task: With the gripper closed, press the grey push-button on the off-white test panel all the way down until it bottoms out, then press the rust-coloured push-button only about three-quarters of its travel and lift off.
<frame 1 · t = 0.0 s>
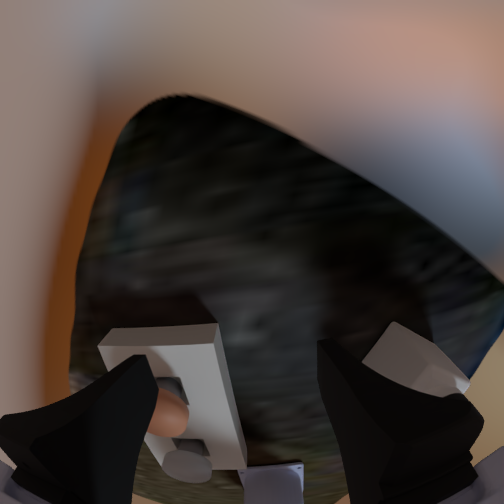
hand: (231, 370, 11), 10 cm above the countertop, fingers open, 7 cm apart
medicine bottle: (392, 361, 23), on the countertop
rust button: (162, 402, 18), point 4 cm above the countertop, slide at 0.0 cm
test panel: (185, 401, 23), on the countertop
grey button: (189, 457, 20), point 4 cm above the countertop, slide at 0.0 cm
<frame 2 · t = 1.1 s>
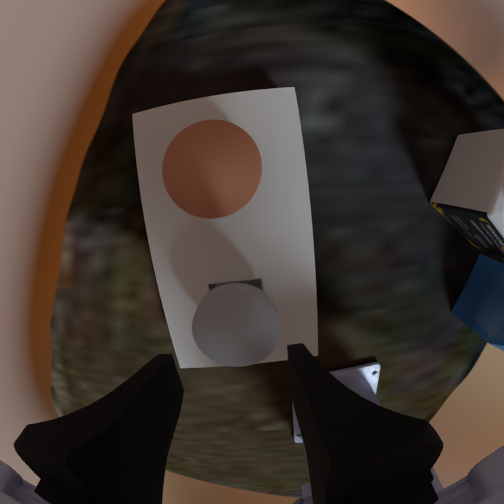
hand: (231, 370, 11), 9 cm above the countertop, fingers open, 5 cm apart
medicine bottle: (466, 191, 18), on the countertop
rust button: (216, 170, 14), point 4 cm above the countertop, slide at 0.0 cm
perfume bottle: (479, 293, 20), on the countertop
test panel: (232, 232, 19), on the countertop
grey button: (237, 315, 16), point 4 cm above the countertop, slide at 0.0 cm
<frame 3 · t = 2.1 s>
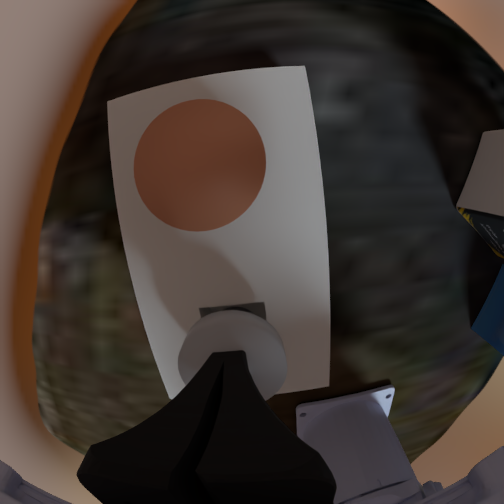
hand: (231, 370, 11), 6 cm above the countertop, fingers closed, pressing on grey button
medicine bottle: (491, 194, 15), on the countertop
rust button: (205, 166, 11), point 4 cm above the countertop, slide at 0.0 cm
perfume bottle: (499, 305, 17), on the countertop
test panel: (228, 243, 16), on the countertop
grey button: (234, 346, 12), point 4 cm above the countertop, slide at 0.1 cm, touching gripper
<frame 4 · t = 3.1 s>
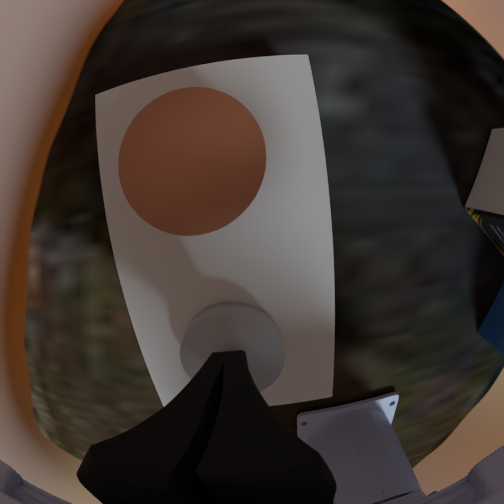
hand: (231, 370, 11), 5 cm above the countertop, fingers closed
medicine bottle: (500, 194, 14), on the countertop
rust button: (199, 163, 9), point 4 cm above the countertop, slide at 0.0 cm
test panel: (225, 245, 15), on the countertop
grey button: (234, 337, 13), point 2 cm above the countertop, slide at 1.8 cm
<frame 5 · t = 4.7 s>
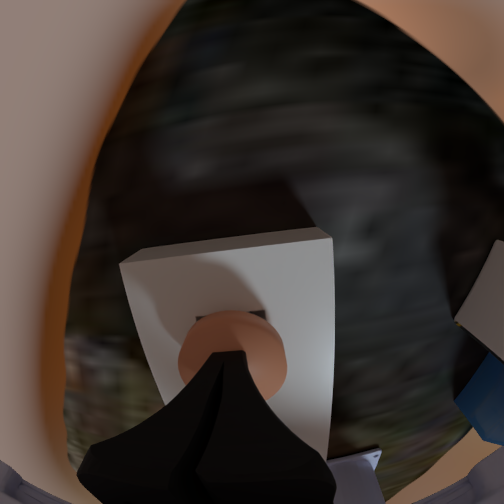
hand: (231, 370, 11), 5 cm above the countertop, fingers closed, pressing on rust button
medicine bottle: (491, 295, 16), on the countertop
rust button: (234, 346, 12), point 3 cm above the countertop, slide at 1.0 cm, touching gripper
perfume bottle: (484, 378, 18), on the countertop
test panel: (247, 369, 17), on the countertop
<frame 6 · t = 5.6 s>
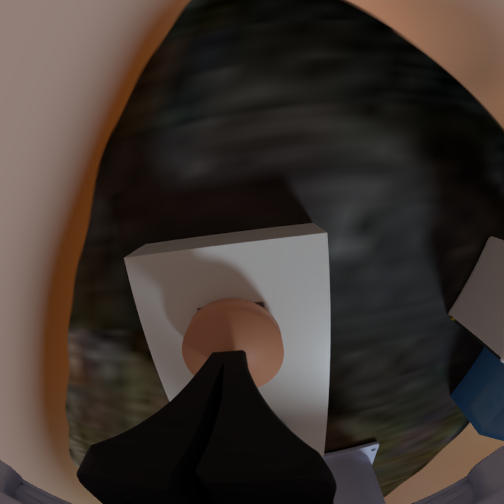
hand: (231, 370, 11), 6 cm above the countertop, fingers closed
medicine bottle: (485, 291, 17), on the countertop
rust button: (234, 333, 13), point 3 cm above the countertop, slide at 1.3 cm
perfume bottle: (480, 373, 19), on the countertop
test panel: (246, 361, 17), on the countertop
grey button: (253, 426, 16), point 2 cm above the countertop, slide at 1.8 cm
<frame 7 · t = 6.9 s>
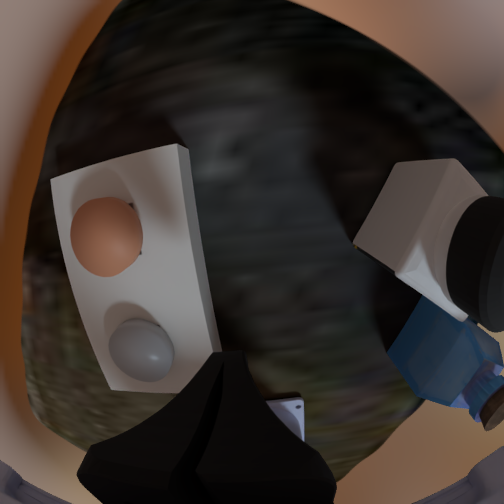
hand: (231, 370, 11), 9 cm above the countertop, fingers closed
medicine bottle: (406, 226, 19), on the countertop
rust button: (114, 232, 16), point 3 cm above the countertop, slide at 1.3 cm
perfume bottle: (425, 331, 21), on the countertop
test panel: (144, 278, 20), on the countertop
grey button: (147, 341, 18), point 2 cm above the countertop, slide at 1.8 cm
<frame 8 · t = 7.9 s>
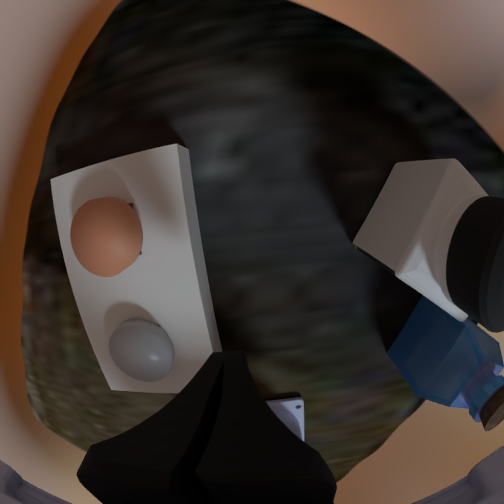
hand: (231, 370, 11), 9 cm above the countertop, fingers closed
medicine bottle: (406, 226, 19), on the countertop
rust button: (114, 232, 16), point 3 cm above the countertop, slide at 1.3 cm
perfume bottle: (425, 331, 21), on the countertop
test panel: (144, 278, 20), on the countertop
grey button: (147, 341, 18), point 2 cm above the countertop, slide at 1.8 cm
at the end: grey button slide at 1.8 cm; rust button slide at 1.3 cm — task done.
